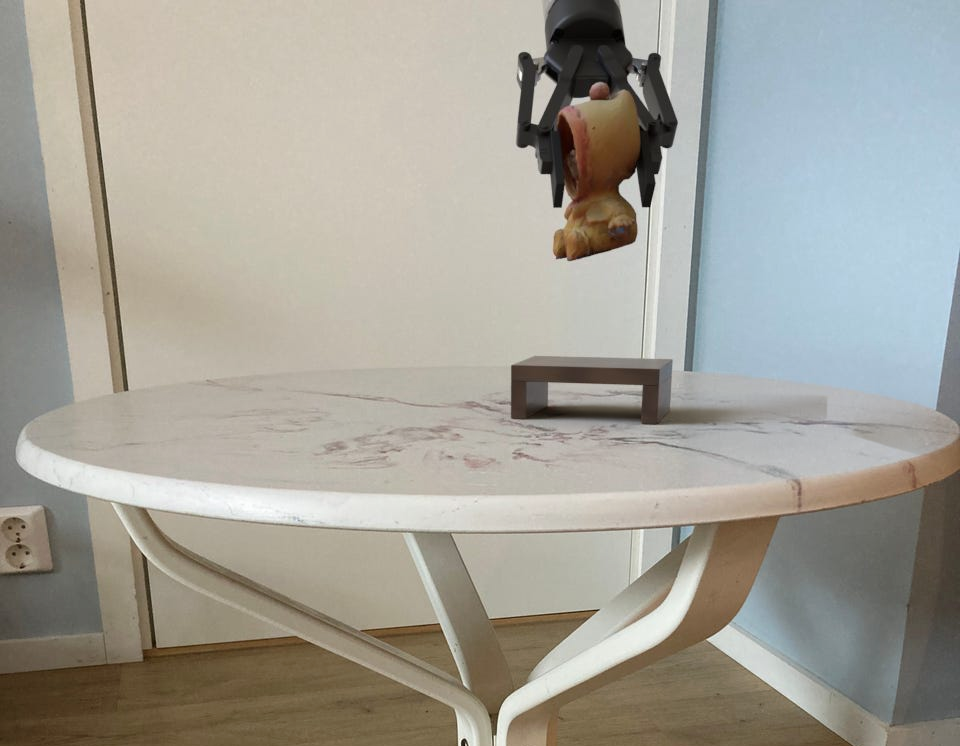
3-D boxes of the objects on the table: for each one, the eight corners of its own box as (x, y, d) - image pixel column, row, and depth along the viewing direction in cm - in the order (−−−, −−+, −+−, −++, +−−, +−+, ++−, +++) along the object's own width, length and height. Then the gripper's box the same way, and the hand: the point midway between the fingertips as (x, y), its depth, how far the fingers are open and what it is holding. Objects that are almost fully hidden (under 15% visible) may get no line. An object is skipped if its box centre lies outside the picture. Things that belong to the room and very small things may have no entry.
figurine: (541, 259, 107) (544, 87, 102) (614, 259, 108) (621, 90, 103) (574, 262, 98) (579, 72, 92) (654, 261, 99) (663, 75, 94)
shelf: (670, 410, 110) (672, 359, 108) (656, 424, 102) (659, 369, 100) (533, 405, 114) (534, 355, 112) (510, 418, 106) (510, 365, 104)
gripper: (677, 57, 111) (707, 227, 102) (477, 56, 110) (488, 228, 101) (693, -14, 105) (726, 161, 95) (480, -16, 103) (492, 161, 94)
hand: (604, 195), depth 98 cm, fingers closed on figurine, 7 cm apart
